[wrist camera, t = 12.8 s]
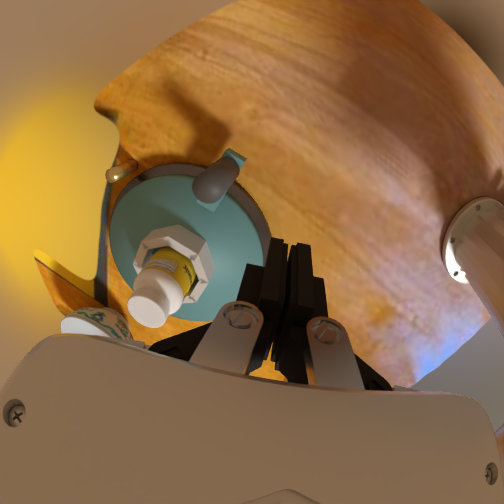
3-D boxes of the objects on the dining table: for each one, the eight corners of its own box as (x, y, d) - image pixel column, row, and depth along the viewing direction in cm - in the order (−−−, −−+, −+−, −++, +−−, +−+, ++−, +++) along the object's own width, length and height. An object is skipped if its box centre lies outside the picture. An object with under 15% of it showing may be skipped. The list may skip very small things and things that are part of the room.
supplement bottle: (198, 282, 33) (170, 340, 25) (158, 269, 33) (122, 322, 25) (205, 245, 31) (173, 301, 22) (161, 232, 31) (118, 281, 22)
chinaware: (157, 356, 48) (142, 387, 41) (96, 338, 49) (78, 364, 43) (140, 297, 40) (117, 330, 34) (73, 281, 42) (48, 307, 35)
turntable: (160, 107, 25) (110, 112, 17) (323, 204, 28) (333, 244, 20) (103, 265, 37) (69, 302, 29) (217, 334, 40) (201, 382, 32)
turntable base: (141, 127, 27) (119, 133, 23) (310, 228, 31) (312, 248, 27) (98, 260, 38) (82, 277, 34) (221, 335, 42) (214, 357, 38)
